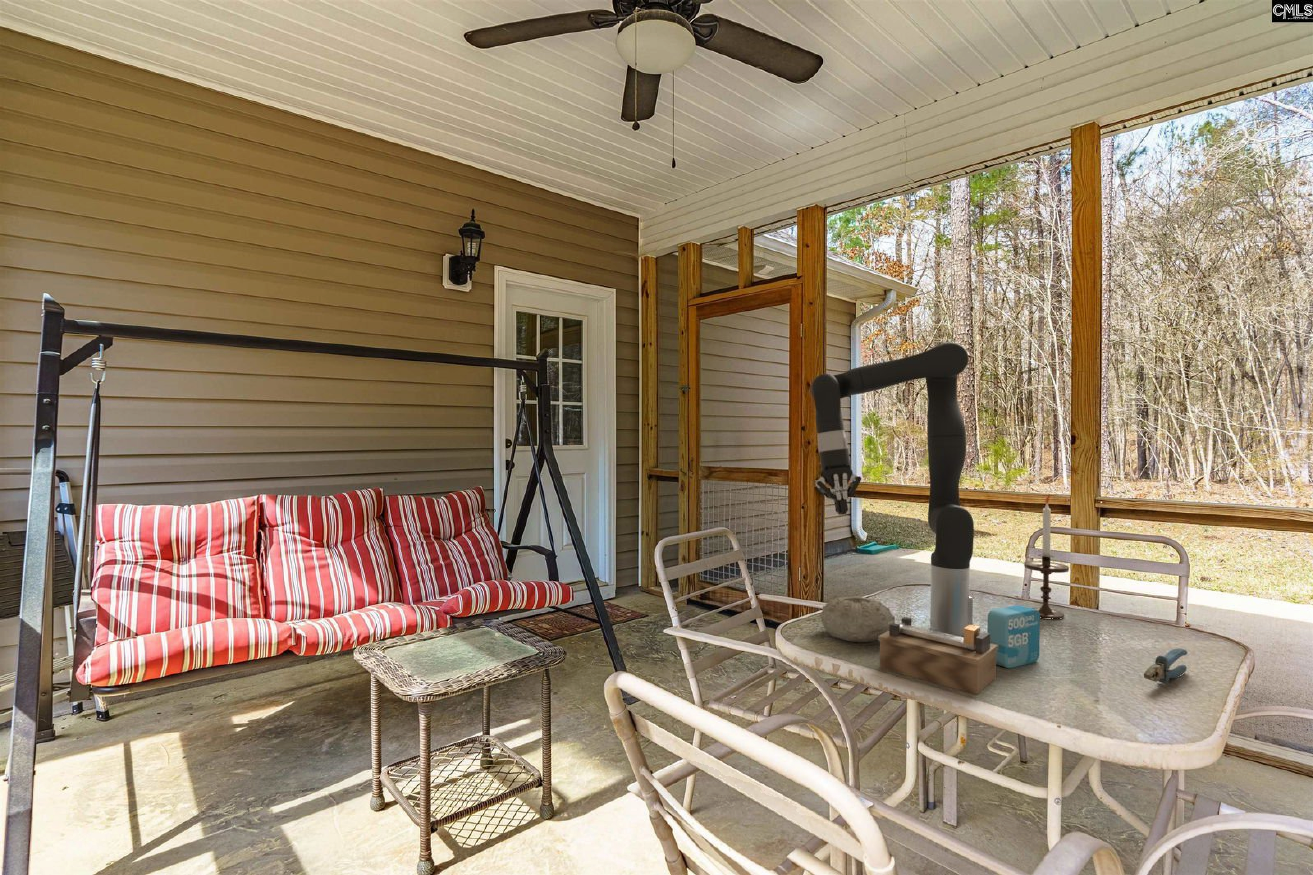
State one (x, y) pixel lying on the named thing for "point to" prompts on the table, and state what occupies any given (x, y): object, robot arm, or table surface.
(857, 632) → the grey rounded stone lump
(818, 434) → the robot arm
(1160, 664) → the pliers
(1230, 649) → the table surface
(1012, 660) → the data package
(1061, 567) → the candlestick
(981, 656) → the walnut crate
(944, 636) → the latch bar
